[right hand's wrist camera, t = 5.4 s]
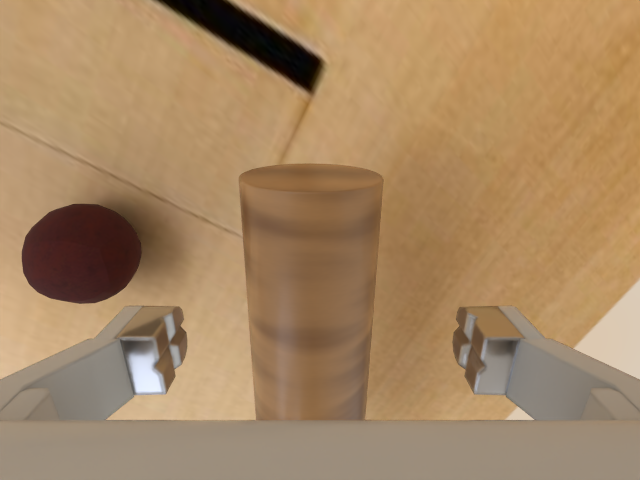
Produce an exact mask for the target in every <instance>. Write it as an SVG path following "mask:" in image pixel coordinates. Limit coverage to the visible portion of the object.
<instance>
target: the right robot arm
mask: <svg viewBox="0 0 640 480" xmlns="http://www.w3.org/2000/svg"><path fill="white" fill-rule="evenodd" d="M183 320H184V317H183V312H182V309H181V308H180V307H178V306H126V307H124V308H123V309H122V310H121V311H120V312H119V313H118V314H117V315H116V316H115V317H114V319H113V320H112V321H111V322H110V323H109V324H108V325H107V326H106V327H105V328H104V329H103V330H102V331H101V332H100V333H99V334H98V335H97V336H96V337H95V338H94V339H87V340H85V341H83V342H81V343H78V344H76V345H74V346H72V347H70V348H68V349H65V350H63V351H61V352H59V353H57V354H55V355H52V356H50V357H48V358H46V359H44V360H42V361H39V362H37V363H35V364H33V365H31V366H29V367H26V368H24V369H22V370H20V371H18V372H16V373H13V374H11V375H9V376H7V377H5V378H3V379H0V480H640V380H639V379H637V378H635V377H633V376H631V375H629V374H626V373H624V372H622V371H620V370H618V369H616V368H613V367H611V366H609V365H607V364H605V363H603V362H600V361H598V360H596V359H594V358H592V357H590V356H587V355H585V354H583V353H581V352H579V351H577V350H575V349H572V348H570V347H568V346H566V345H564V344H562V343H559V342H557V341H555V340H553V339H546V338H545V337H544V336H543V335H542V334H541V333H540V332H539V331H538V330H537V329H536V328H535V327H534V326H533V325H532V324H531V323H530V322H529V321H528V319H527V318H526V317H525V316H524V315H523V314H522V313H521V312H520V311H519V310H518V309H517V308H516V307H514V306H483V307H459V310H458V312H457V317H456V320H457V322H458V324H459V325H460V326H459V327H458V329H457V330H456V331H455V332H454V335H453V352H454V355H455V358H456V360H457V362H458V364H459V365H460V366H461V367H463V368H464V369H466V371H465V378H466V380H467V382H468V384H469V385H470V387H471V389H472V391H473V393H474V394H482V395H506V397H507V398H508V399H510V400H511V401H512V402H513V403H515V404H516V405H517V406H518V407H520V408H521V409H522V410H523V411H525V412H526V413H527V414H528V415H530V416H531V417H532V418H533V419H534V420H106V419H107V418H108V417H109V416H111V415H112V414H113V413H114V412H116V411H117V410H118V409H119V408H121V407H122V406H123V405H124V404H126V403H127V402H128V401H129V400H131V399H132V398H133V397H134V395H157V394H166V393H167V391H168V389H169V387H170V385H171V384H172V382H173V380H174V378H175V371H174V369H176V368H177V367H179V366H180V365H181V364H182V362H183V360H184V358H185V355H186V351H187V334H186V332H185V331H184V330H183V329H182V327H181V326H180V325H181V324H182V322H183Z"/></svg>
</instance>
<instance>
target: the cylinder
mask: <svg viewBox="0 0 640 480" xmlns="http://www.w3.org/2000/svg"><path fill="white" fill-rule="evenodd" d="M239 188H240V202H241V216H242V230H243V244H244V258H245V272H246V286H247V299H248V313H249V327H250V341H251V355H252V369H253V383H254V397H255V410H256V420H365V413H366V400H367V387H368V374H369V361H370V348H371V335H372V322H373V309H374V296H375V283H376V270H377V257H378V244H379V231H380V218H381V204H382V191H383V177H382V176H381V175H380V174H378V173H376V172H373V171H370V170H367V169H363V168H358V167H351V166H343V165H331V164H286V165H275V166H267V167H261V168H256V169H252V170H249V171H247V172H245V173H243V174H241V175H240V177H239Z"/></svg>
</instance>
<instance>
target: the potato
mask: <svg viewBox="0 0 640 480" xmlns="http://www.w3.org/2000/svg"><path fill="white" fill-rule="evenodd" d="M140 259H141V243H140V240H139V238H138V236H137V233H136V232H135V230H134V229H133V228H132V226H131V225H130V224H129V223H128V222H127V221H126V220H125V219H124V218H123V217H122V216H120V215H119V214H118V213H116V212H115V211H112V210H110V209H107V208H105V207H102V206H100V205H95V204H72V205H69V206H66V207H62V208H59V209H56V210H53V211H51V212H49V213H48V214H47V215H46V216H45V217H43V218H42V219H41V220H40V221H39V222H38V223H37V224H35V225H34V226H33V227H32V228H31V230H30V231H29V233H28V234H27V235H26V237H25V241H24V245H23V249H22V265H23V273H24V275H25V277H26V279H27V281H28V283H29V284H30V285H31V286H32V287H33V288H34V289H35V290H36V291H37V292H38V293H40V294H43V295H45V296H47V297H49V298H52V299H56V300H61V301H67V302H73V303H79V304H82V303H96V302H99V301H102V300H106V299H108V298H110V297H112V296H114V295H115V294H117V293H118V292H120V291H121V290H122V289H124V288H125V287H126V286H127V284H128V283H129V282H130V280H131V279H132V277H133V276H134V274H135V273H136V271H137V268H138V266H139V262H140Z"/></svg>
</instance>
